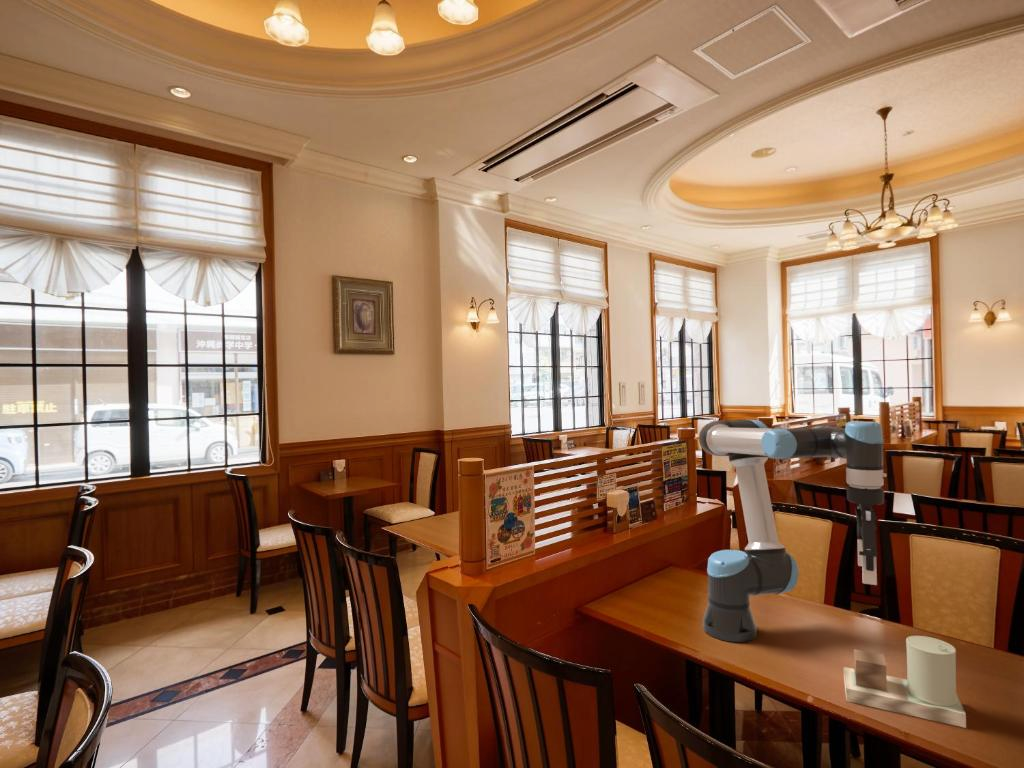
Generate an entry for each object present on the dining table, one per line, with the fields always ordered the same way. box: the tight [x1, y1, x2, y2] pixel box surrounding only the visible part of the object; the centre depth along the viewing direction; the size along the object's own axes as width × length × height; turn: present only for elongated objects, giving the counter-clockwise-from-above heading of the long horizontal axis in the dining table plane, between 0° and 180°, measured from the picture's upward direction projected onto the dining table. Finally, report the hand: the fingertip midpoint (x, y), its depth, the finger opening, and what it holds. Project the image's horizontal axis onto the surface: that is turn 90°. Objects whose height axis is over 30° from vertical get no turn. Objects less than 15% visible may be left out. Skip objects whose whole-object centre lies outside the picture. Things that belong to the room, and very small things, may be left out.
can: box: [905, 635, 958, 706], centre depth 124 cm, size 9×9×12 cm
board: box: [843, 666, 967, 729], centre depth 127 cm, size 22×11×3 cm, turn 61°
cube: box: [853, 648, 887, 692], centre depth 130 cm, size 6×6×6 cm
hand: (866, 574), depth 130 cm, fingers open, 13 cm apart
